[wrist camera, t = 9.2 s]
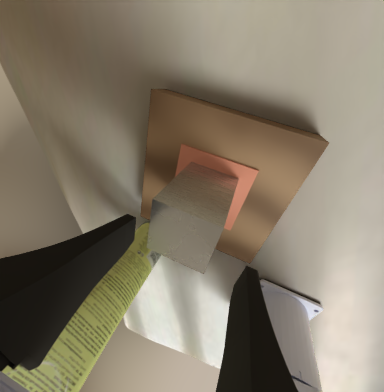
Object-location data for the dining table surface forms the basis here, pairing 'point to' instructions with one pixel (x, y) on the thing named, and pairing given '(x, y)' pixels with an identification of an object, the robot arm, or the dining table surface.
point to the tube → (91, 323)
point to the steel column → (191, 215)
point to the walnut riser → (229, 162)
